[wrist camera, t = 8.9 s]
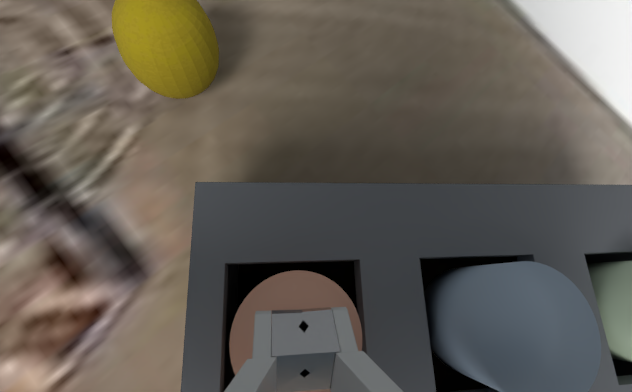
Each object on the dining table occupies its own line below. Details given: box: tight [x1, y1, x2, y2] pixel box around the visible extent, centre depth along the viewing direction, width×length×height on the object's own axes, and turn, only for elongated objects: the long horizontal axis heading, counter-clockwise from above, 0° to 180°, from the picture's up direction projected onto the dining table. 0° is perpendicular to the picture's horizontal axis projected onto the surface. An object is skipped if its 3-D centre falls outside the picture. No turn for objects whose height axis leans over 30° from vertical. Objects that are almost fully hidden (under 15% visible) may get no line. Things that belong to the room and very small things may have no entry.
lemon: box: [112, 0, 219, 99], centre depth 19 cm, size 6×6×8 cm
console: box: [181, 182, 632, 392], centre depth 17 cm, size 24×12×8 cm, turn 92°
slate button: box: [424, 261, 601, 392], centre depth 12 cm, size 5×5×4 cm
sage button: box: [587, 260, 632, 363], centre depth 15 cm, size 5×5×4 cm
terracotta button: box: [229, 270, 362, 392], centre depth 13 cm, size 5×5×4 cm
